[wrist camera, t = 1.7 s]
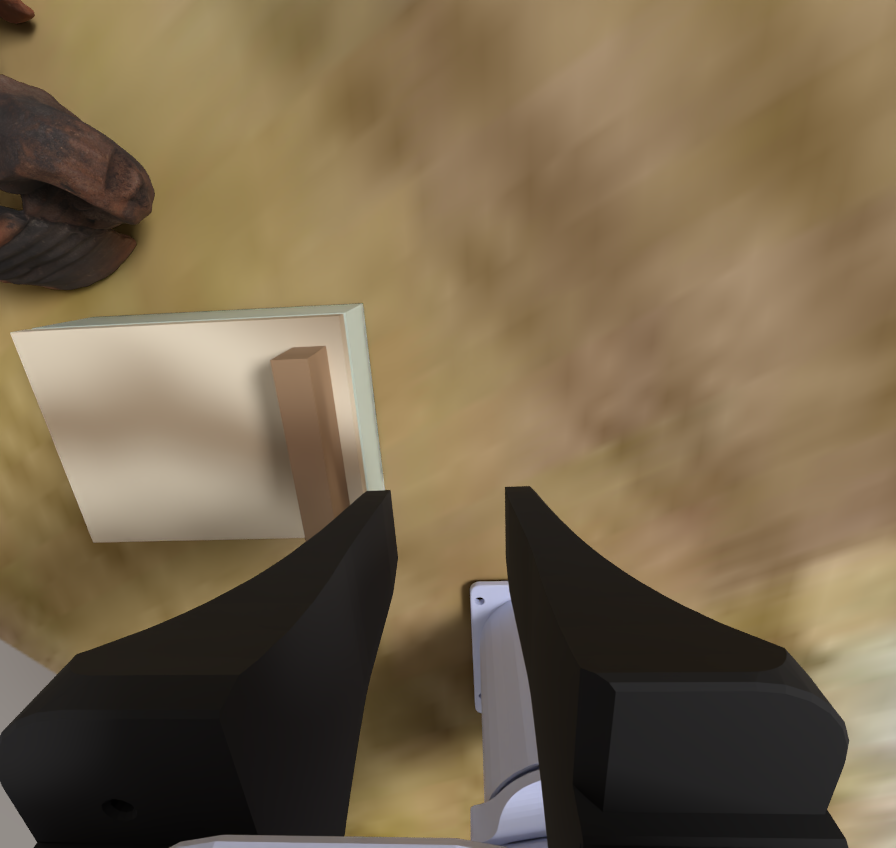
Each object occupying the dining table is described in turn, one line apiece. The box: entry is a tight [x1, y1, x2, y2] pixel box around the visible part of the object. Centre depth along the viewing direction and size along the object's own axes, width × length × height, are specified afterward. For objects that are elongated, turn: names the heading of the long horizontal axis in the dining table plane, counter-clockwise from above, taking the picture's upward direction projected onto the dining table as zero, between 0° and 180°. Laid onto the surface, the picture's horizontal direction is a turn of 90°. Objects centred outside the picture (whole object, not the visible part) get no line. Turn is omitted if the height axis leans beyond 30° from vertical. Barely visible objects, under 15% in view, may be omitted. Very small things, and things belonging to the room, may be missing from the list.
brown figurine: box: [0, 0, 155, 290], centre depth 15 cm, size 12×10×8 cm
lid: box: [10, 314, 367, 543], centre depth 17 cm, size 9×12×3 cm
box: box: [32, 303, 385, 491], centre depth 20 cm, size 9×12×3 cm
